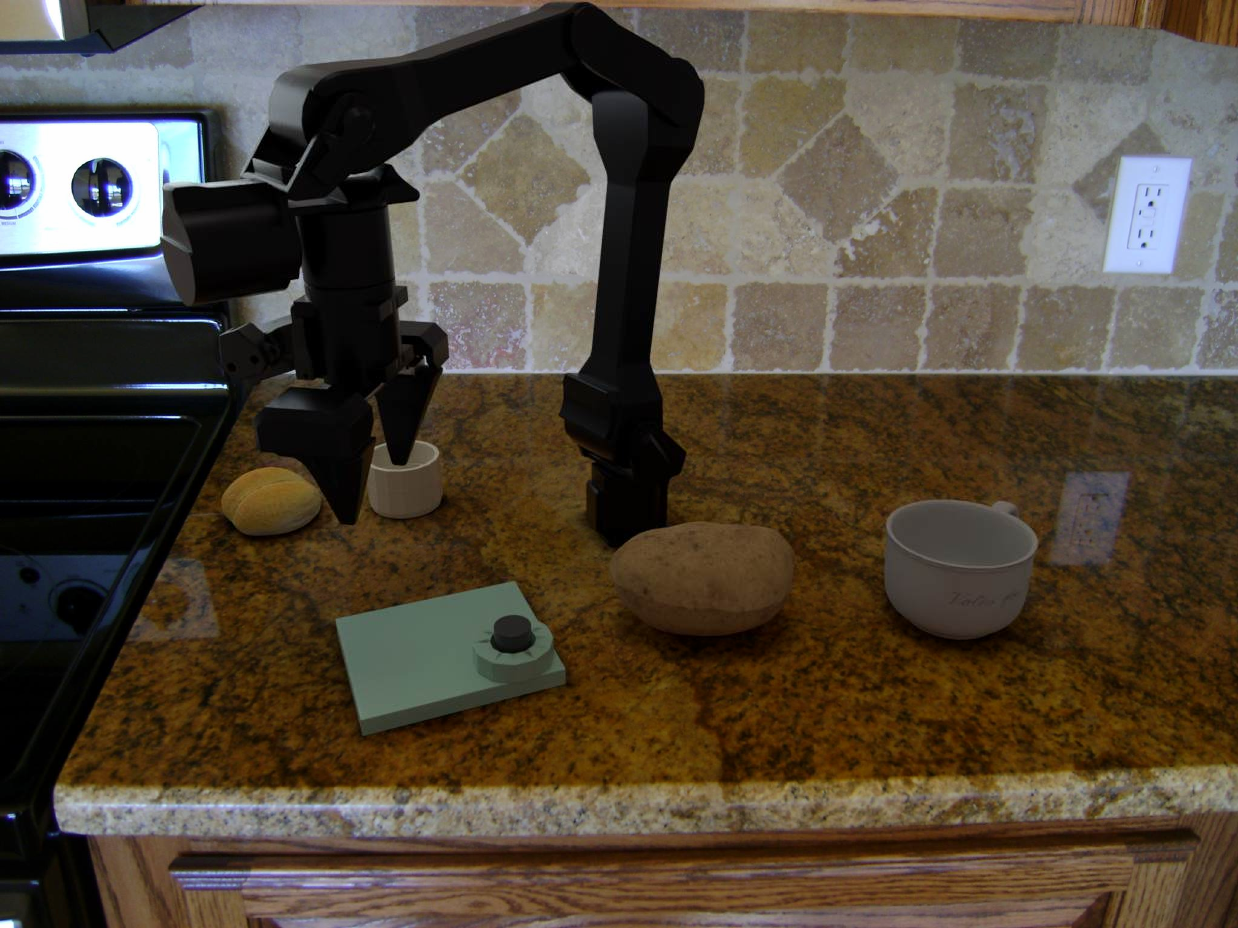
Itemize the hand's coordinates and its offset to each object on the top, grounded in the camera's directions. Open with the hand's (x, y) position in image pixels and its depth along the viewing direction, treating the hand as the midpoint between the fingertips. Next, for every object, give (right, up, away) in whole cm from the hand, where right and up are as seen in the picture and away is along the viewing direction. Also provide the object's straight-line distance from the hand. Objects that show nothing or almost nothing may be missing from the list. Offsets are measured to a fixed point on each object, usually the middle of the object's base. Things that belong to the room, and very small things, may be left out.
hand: (375, 492), depth 67 cm
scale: (+5, -12, +1) cm, 13 cm away
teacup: (+44, -10, +7) cm, 46 cm away
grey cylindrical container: (-3, -2, +22) cm, 23 cm away
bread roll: (-15, -3, +20) cm, 25 cm away
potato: (+24, -11, +5) cm, 26 cm away
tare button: (+10, -11, -2) cm, 15 cm away
